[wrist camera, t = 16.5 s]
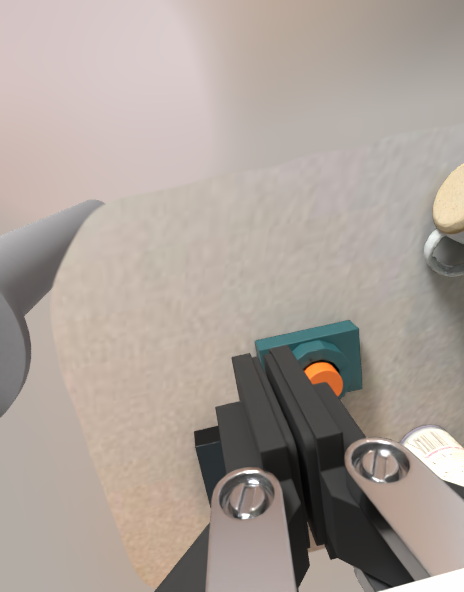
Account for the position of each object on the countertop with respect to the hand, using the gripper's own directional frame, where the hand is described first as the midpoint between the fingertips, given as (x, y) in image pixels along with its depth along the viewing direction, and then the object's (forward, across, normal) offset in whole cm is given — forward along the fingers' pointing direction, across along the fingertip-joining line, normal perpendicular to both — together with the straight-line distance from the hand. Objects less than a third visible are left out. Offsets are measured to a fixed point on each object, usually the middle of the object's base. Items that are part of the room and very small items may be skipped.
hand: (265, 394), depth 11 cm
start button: (+22, -8, +14) cm, 27 cm away
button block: (+25, -8, +14) cm, 30 cm away
